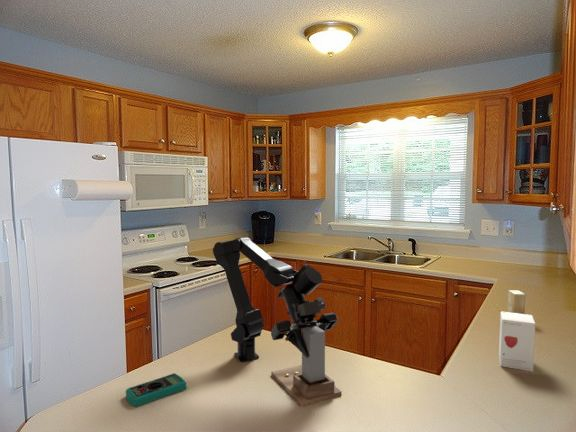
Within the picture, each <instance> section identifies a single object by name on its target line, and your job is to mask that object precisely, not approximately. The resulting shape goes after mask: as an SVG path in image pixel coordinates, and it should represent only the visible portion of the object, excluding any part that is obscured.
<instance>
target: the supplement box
mask: <svg viewBox="0 0 576 432" xmlns="http://www.w3.org/2000/svg"><path fill="white" fill-rule="evenodd" d="M499 318H500V323H499V324H500V325H499V339H498V340H499V342H498V345H499V346H498V359H499V366H500V367H504V368H510V369H516V370H522V371H527V372H531V373H532V372H534V363H535V361H534V359H535V357H534V356H535V343H536V341H535V340H536V322H535V320H534V316H533V314H527V313H525V314H519V313H510V312H508V311H500V317H499Z"/></svg>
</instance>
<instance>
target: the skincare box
mask: <svg viewBox="0 0 576 432" xmlns="http://www.w3.org/2000/svg"><path fill="white" fill-rule="evenodd" d="M526 297H527V295H526V294H525V293H524V292H522V291H521V290H518V289H517V290H516V289H513V290H511V289H508V296H507V298H508V299H507V312H510V313H519V314H526V313H525V312H526Z"/></svg>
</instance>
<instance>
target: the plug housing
mask: <svg viewBox="0 0 576 432" xmlns="http://www.w3.org/2000/svg"><path fill="white" fill-rule="evenodd" d="M301 332H302V338H303V340H304V343H305V345H306V348H307V350H308V354H309V357H308V358H306V357H305V356H304V355H303V354H302V353H301V365H302V376H303V377H304V378H305V379H306V380H308V381H309V382H310V383H311V382H315V381H319V380H323V379H325V374H326V373H325V372H326V331H324V330H322V329H320V328H319V327H317V326H314V327H309V328H303V329H302V330H301Z"/></svg>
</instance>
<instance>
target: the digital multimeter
mask: <svg viewBox="0 0 576 432" xmlns="http://www.w3.org/2000/svg"><path fill="white" fill-rule="evenodd" d="M185 390H187V381H186V380H185V378H183V377H182V376H181V375H179V374H177V373H175V372H174V373H171V374H168V375H165V376H162V377H159V378H156V379H153V380H150V381H147V382H144V383H141V384H137V385H134V386H131V387H128V388H126V390H125V395H126V396H125V397H126V401H127V402H128V403H129V404H130V405H131V406H133V407H135V408H137V407H140V406H142V405H145V404H148V403H150V402H153V401H154V402H155V400H158V399H162V398H164V397H167V396H171V395H173V394H177V393H178V392H179V393H180V392H182V391H185Z"/></svg>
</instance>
